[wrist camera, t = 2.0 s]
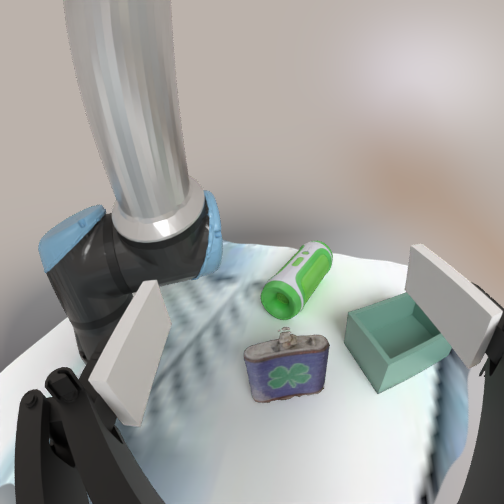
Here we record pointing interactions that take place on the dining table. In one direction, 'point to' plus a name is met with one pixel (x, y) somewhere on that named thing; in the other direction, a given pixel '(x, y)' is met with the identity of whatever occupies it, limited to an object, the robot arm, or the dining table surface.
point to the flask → (287, 366)
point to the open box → (393, 341)
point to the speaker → (297, 280)
